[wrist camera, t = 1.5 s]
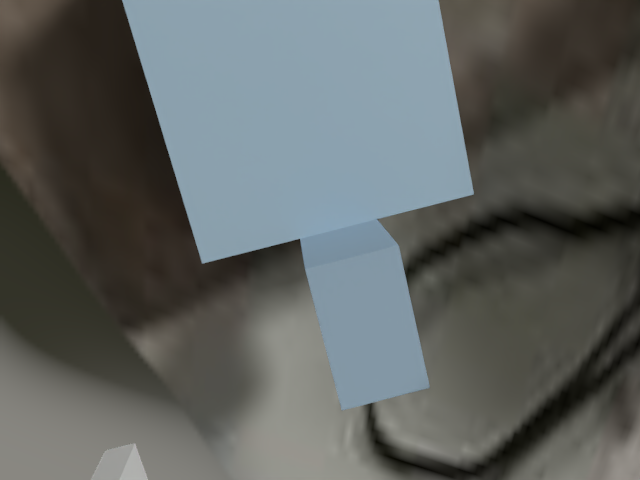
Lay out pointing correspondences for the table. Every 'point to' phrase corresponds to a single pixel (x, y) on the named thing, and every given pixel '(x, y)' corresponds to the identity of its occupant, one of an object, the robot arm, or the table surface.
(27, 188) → the table surface
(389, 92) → the lid
